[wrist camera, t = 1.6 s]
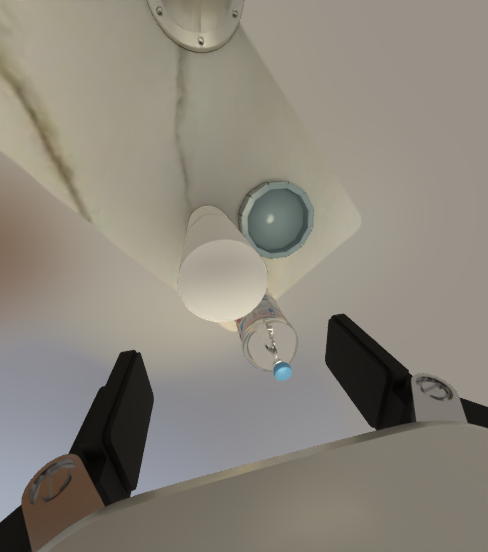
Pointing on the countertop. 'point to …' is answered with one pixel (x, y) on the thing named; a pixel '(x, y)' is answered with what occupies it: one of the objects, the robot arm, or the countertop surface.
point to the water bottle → (268, 338)
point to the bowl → (276, 219)
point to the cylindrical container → (219, 268)
